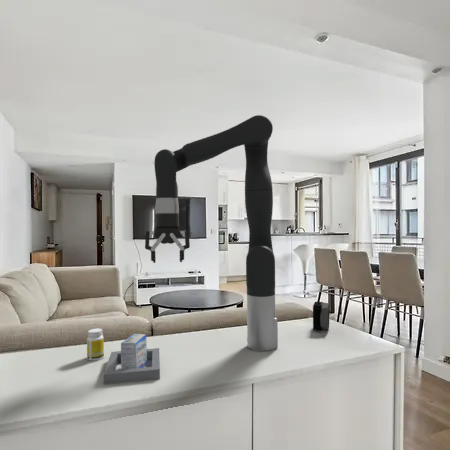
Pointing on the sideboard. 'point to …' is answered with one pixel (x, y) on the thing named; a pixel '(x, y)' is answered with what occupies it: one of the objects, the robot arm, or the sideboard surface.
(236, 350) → the sideboard surface
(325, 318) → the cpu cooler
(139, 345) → the medicine box
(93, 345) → the supplement bottle
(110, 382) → the block
